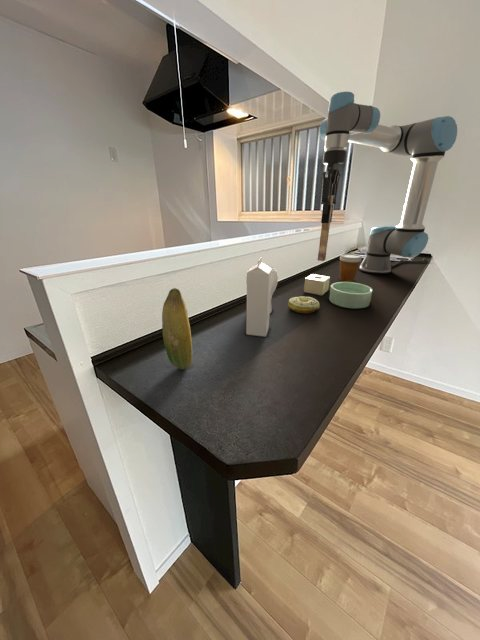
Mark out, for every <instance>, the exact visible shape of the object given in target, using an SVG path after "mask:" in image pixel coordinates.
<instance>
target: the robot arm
mask: <svg viewBox="0 0 480 640" xmlns="http://www.w3.org/2000/svg"><path fill="white" fill-rule="evenodd" d="M380 121H381V111H380V109H379V108H378V107H375V106H373V105H367V104H359V103H356V102H355V93H353V92H352V91H340V92H336V93H335V94H333V95H332V96H331V97H330V99H329V103H328V110H327V117H326V118H324V119H323V120H322V121H321V124H320V126H319V136H320V138H321V140H323V144H324V152H323V155H322V156H323V157H322V164H323V165H326V170H325V171H323V172H322V191H321V202H320V204H321V205H322V211H321V220H320V223H321V224H322V223H329V217H330V209H331V204H330V203H331V196H332V195H334V197H333V205H332V212H331V220H330V224H331V223H332V219H333V211H334V205H336V204H337V198H338V197H337V196H338V191H339V186H340V185H339V184H340V179H341V176H342V173H341V172H340V165H343V164H345V162H346V157H347V151H346V150H347V149H348V145H349V143H352V144H356V145H357V144H358V145H363V146H366V147H367V146H368V147H373V148H378V149H380V150H381V151H382V152H384V153H389V154H392V155H393V154H394V155H397V156H398V155H399V156H404V157H405V156H411V157H410V161H411V162H412V163H413V165H412V170H411V173H410V174H411V175H410V179H409V183H408V187H407V193H406V197H405V203H404V205H403V210H402V214H401V218H400V219H401V220H400V223H399V224H397V225H389V226H388V225H387V226H386V225H385V226H374V227H372V228H371V229H370V233H369V236H368V240H367V241H368V242H367V246H366V247H367V248H366V253H365V256H364V258H363V259H362V260H361V261H362V262H361V263H360V264H359V268H358V269H359V271H360V272H362V273H366V274H370V275H388V274H390V273H391V270H392V268H393V267H396V266H397V265H399V264H408V263H411V264H412V263H416V264H418V263H419V264H420V263H424V262H425V260H426V259H425V258H424V257H423V258H422V260H404V261H397V262H396V263H395V264H392V265H391V255H394V256H399V257H403V258H411V259H412V258H415V257H418V256H419V255H420V254H421V253H423V251H424V250H425V248H426V247H427V245H428V243H429V235H428V233H427V232H425V230H426V226H425V225H424V223H423V222H424V218H425V214H426V211H427V207H428V204H429V199H430V195H431V192H432V188H433V183H434V181H435V180H434V179H435V177H436V176H435V175H436V172H437V169H438V164H439V162H440V161H441V160H442V159H444V157H445V154H446V152H447V151H449V150H451V149H452V147H453V146H454V144H455V143H456V140H457V136H458V124H457V123H456V122H457V121H456V120H455V118H453V116H449V115H446V116H437V117H434V118H430V119H427V120H423V121H418V122H413V123H410V124H405V125H397V124H395V125H391V126H387V125H383V124H380Z"/></svg>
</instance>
